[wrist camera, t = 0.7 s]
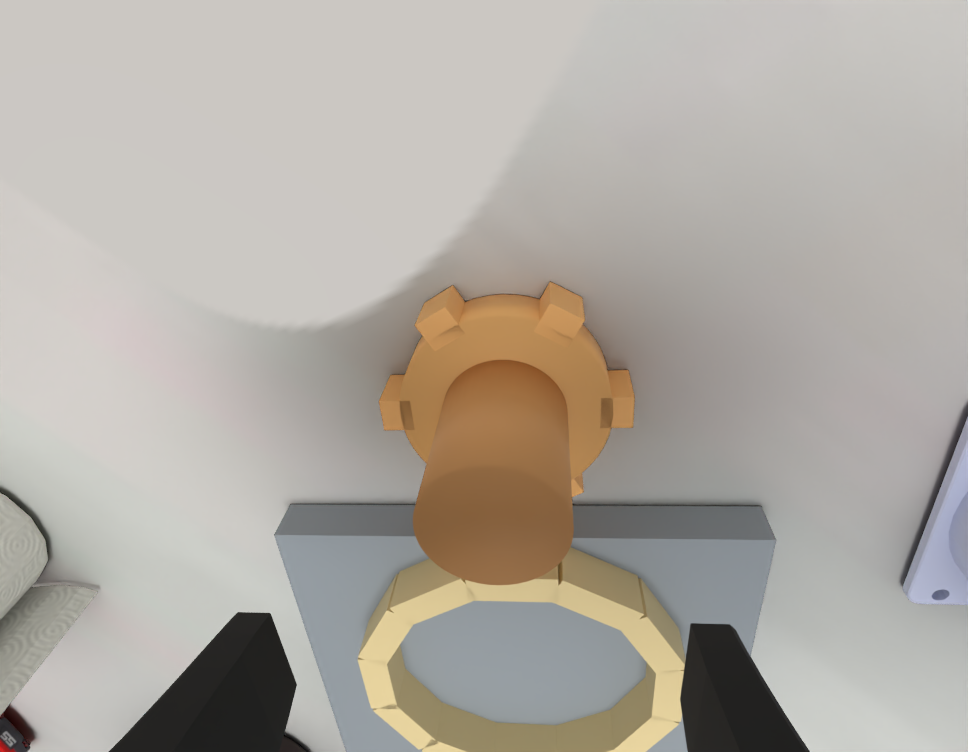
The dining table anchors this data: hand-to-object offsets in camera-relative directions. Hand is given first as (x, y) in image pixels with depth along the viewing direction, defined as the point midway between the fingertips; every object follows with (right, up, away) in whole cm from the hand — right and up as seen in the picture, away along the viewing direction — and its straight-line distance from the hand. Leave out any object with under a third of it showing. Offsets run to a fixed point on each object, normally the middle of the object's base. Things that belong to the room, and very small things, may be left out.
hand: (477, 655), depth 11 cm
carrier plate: (+2, -8, +15) cm, 17 cm away
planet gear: (+1, +4, +8) cm, 9 cm away
